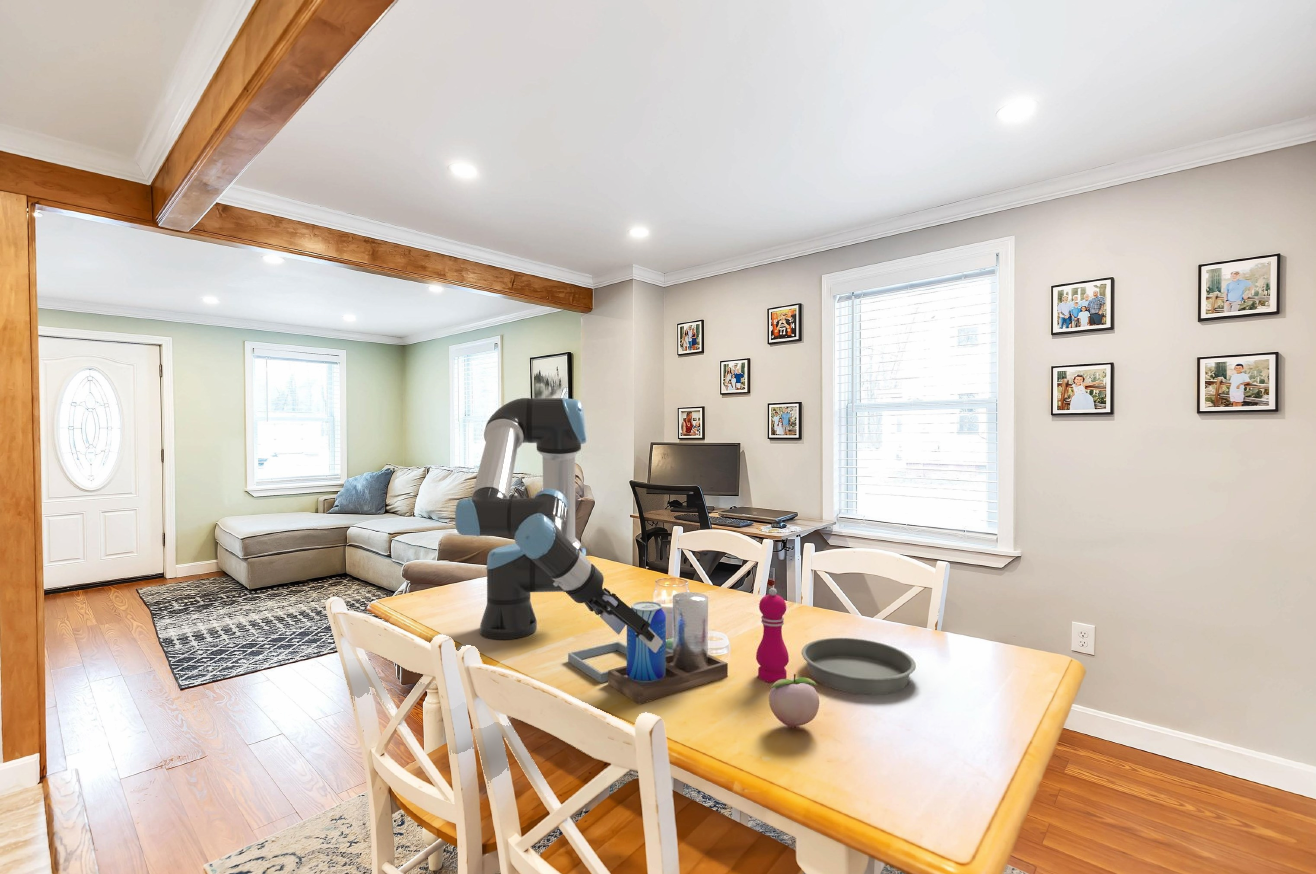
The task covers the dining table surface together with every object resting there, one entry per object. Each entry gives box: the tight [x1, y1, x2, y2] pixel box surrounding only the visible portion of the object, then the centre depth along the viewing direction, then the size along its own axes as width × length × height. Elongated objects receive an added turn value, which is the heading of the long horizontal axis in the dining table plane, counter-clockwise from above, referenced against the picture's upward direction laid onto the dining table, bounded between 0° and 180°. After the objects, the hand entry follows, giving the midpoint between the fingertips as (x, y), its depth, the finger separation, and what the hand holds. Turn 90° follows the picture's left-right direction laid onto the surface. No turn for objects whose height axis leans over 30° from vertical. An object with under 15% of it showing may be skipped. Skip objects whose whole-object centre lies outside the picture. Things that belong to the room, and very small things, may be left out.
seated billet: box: [672, 591, 709, 673], centre depth 137 cm, size 8×8×16 cm
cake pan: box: [801, 637, 917, 695], centre depth 137 cm, size 25×25×4 cm
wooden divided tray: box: [607, 653, 729, 705], centre depth 133 cm, size 12×24×3 cm, turn 126°
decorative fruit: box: [768, 673, 820, 729], centre depth 112 cm, size 9×8×10 cm
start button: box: [666, 637, 673, 650], centre depth 147 cm, size 4×4×4 cm
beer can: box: [626, 600, 667, 686], centre depth 130 cm, size 8×8×16 cm
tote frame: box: [567, 640, 627, 684], centre depth 142 cm, size 15×14×2 cm
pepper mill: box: [755, 587, 790, 684], centre depth 135 cm, size 7×7×20 cm
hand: (639, 637), depth 128 cm, fingers open, 13 cm apart
